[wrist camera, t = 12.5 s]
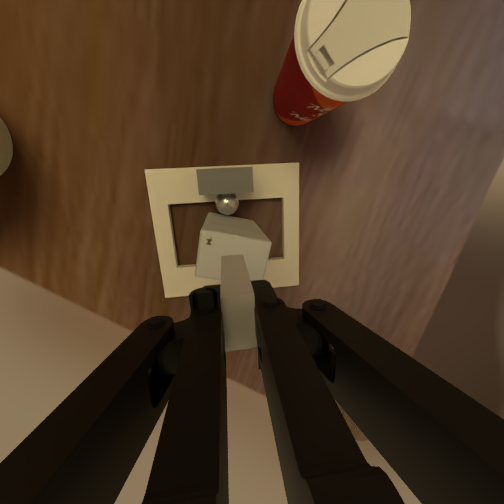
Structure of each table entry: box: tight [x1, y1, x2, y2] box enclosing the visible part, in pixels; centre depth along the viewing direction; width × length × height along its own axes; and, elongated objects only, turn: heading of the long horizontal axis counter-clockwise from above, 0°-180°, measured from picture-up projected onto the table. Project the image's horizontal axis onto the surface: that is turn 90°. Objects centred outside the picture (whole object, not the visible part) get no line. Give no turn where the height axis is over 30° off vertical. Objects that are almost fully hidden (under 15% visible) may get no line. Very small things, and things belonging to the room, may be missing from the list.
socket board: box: [145, 162, 299, 298], centre depth 29 cm, size 16×18×6 cm
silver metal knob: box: [215, 193, 239, 215], centre depth 27 cm, size 5×3×3 cm, turn 3°
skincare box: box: [195, 212, 272, 281], centre depth 26 cm, size 6×4×12 cm
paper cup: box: [273, 0, 411, 126], centre depth 22 cm, size 8×8×14 cm
